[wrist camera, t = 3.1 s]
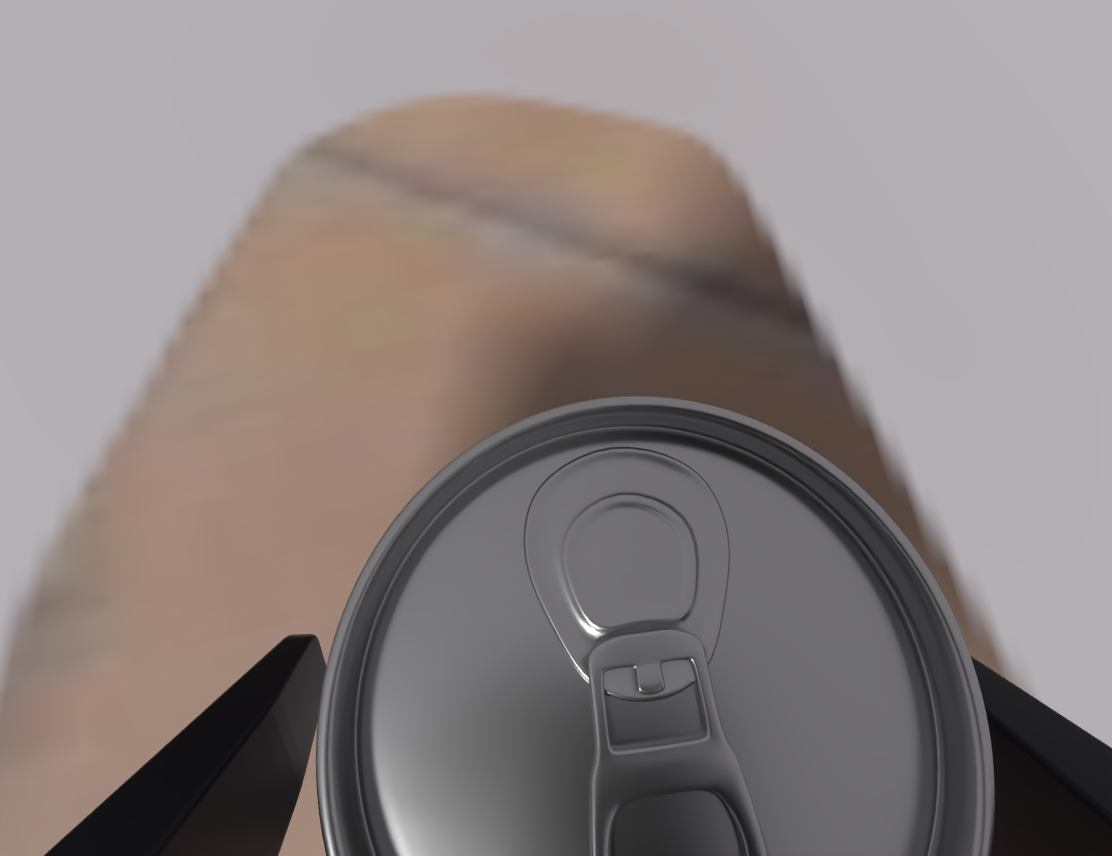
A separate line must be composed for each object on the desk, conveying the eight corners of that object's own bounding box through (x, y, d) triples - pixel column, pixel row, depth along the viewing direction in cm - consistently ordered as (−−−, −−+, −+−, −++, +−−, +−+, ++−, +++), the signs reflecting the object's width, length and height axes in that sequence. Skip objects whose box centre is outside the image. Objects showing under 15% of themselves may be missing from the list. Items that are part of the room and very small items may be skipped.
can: (663, 511, 17) (903, 324, 6) (706, 741, 15) (1207, 1161, 4) (457, 537, 17) (271, 390, 5) (474, 776, 15) (235, 1362, 3)
